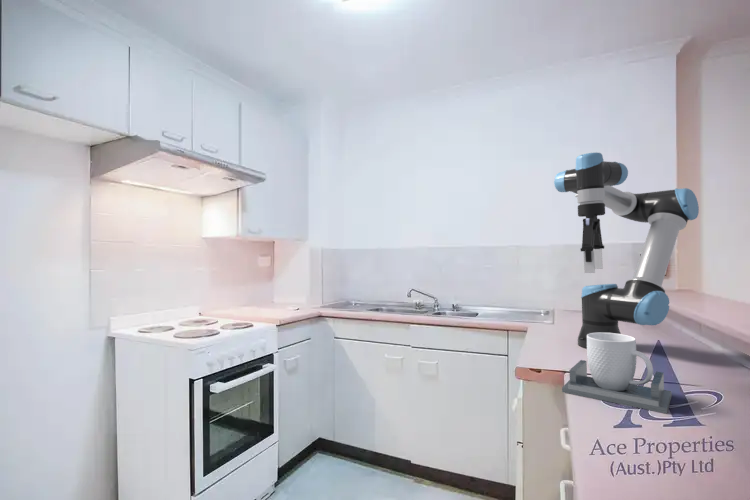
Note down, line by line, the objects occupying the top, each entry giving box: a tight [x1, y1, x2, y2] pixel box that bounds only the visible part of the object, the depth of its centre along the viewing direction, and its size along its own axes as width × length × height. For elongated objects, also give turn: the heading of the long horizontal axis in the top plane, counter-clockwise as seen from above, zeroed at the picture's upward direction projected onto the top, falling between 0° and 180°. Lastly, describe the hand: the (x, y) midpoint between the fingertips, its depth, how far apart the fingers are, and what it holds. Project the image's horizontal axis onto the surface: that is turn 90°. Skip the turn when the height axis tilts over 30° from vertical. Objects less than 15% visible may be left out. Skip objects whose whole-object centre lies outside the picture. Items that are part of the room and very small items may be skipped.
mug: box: [586, 332, 654, 391], centre depth 100 cm, size 15×11×13 cm
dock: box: [561, 359, 672, 415], centre depth 100 cm, size 13×22×6 cm, turn 49°
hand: (593, 270), depth 123 cm, fingers open, 13 cm apart
